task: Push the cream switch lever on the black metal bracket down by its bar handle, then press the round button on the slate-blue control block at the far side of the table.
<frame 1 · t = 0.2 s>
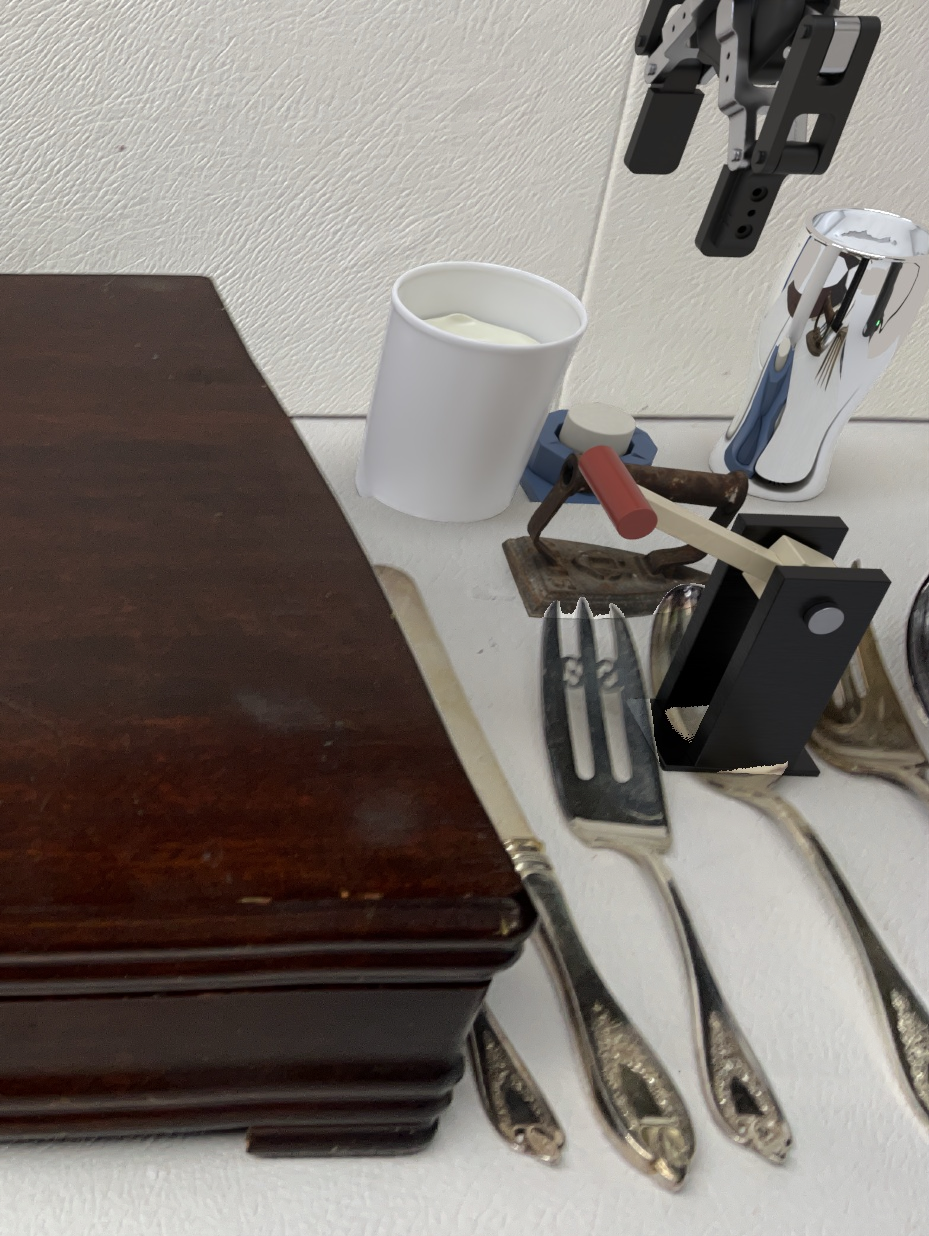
hand: (682, 210, 77), 23 cm above the table, tool pointing down, fingers open, 8 cm apart
button: (597, 431, 101), point 3 cm above the table, slide at 0.1 cm
candle holder: (428, 497, 101), on the table
clothes iron: (611, 602, 93), on the table
beer glass: (763, 477, 103), on the table
switch lever: (713, 539, 76), point 12 cm above the table, hinge at 25.0°
button block: (580, 475, 102), on the table
switch bracket: (712, 752, 84), on the table
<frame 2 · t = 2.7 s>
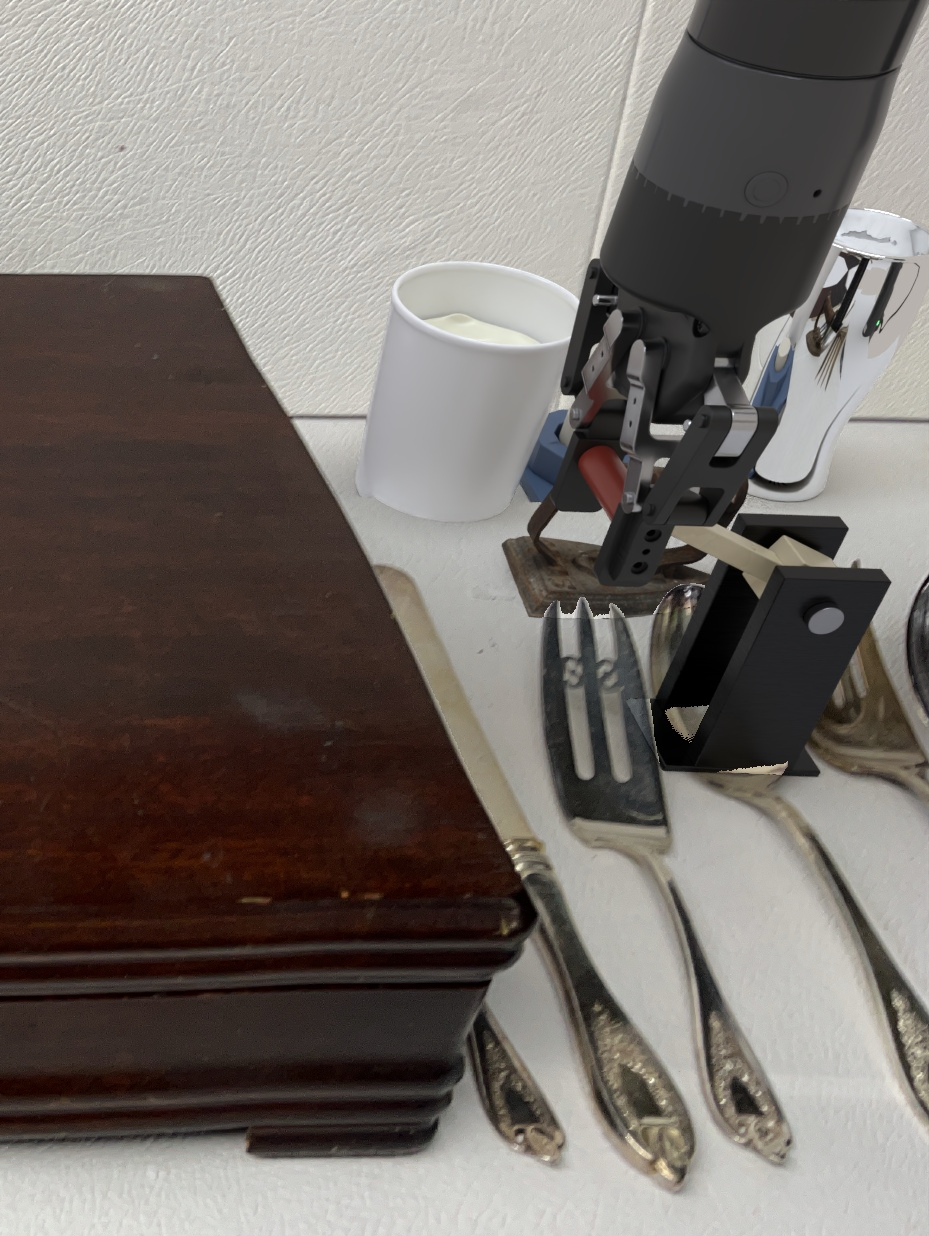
hand: (596, 541, 77), 12 cm above the table, tool pointing down, fingers closed on switch lever, 5 cm apart
switch lever: (713, 539, 76), point 12 cm above the table, hinge at 24.9°, touching gripper
everything else where it was.
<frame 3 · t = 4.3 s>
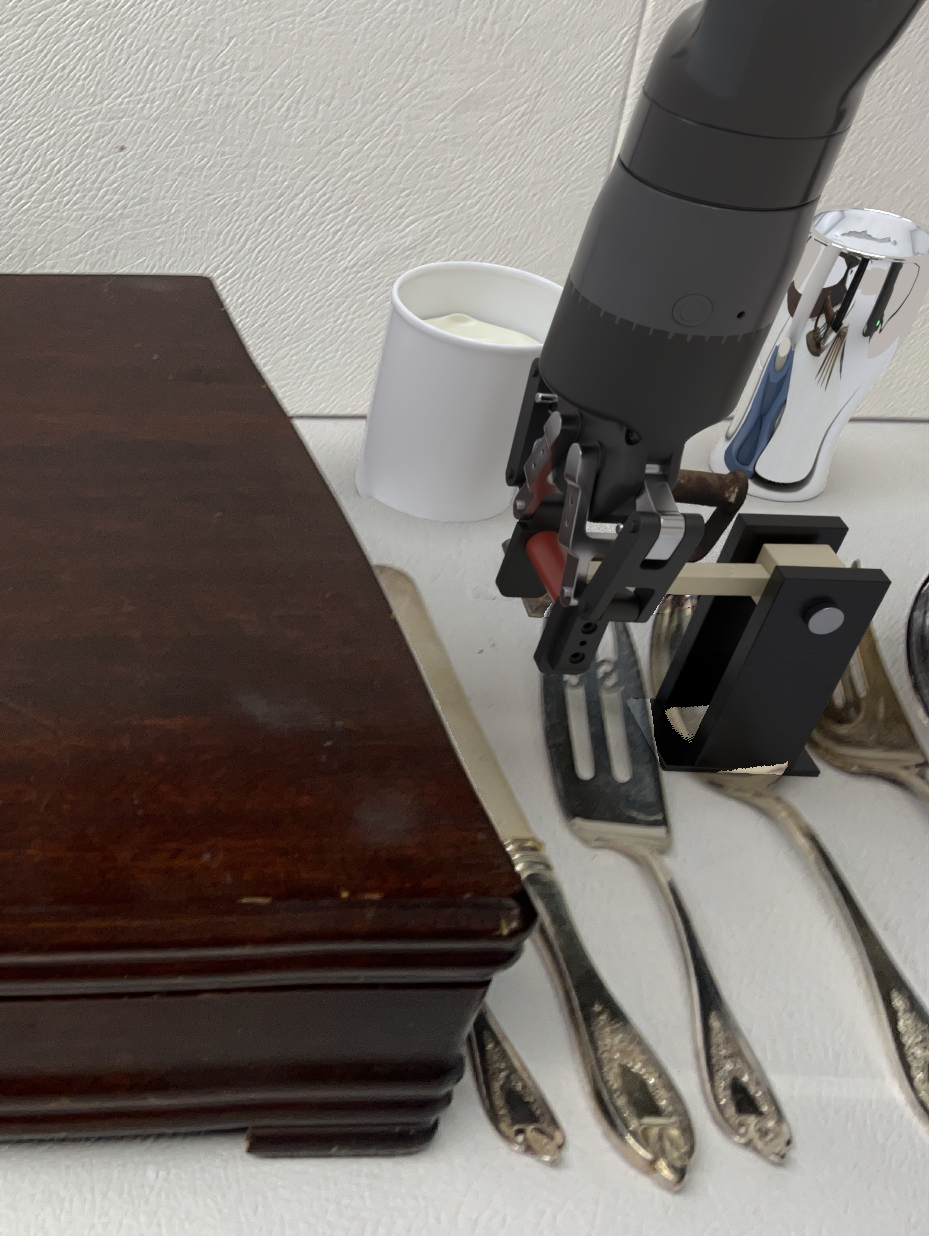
hand: (538, 628, 80), 7 cm above the table, tool pointing down, fingers closed on switch lever, 5 cm apart
switch lever: (685, 578, 78), point 10 cm above the table, hinge at -1.4°, touching gripper
everything else where it was.
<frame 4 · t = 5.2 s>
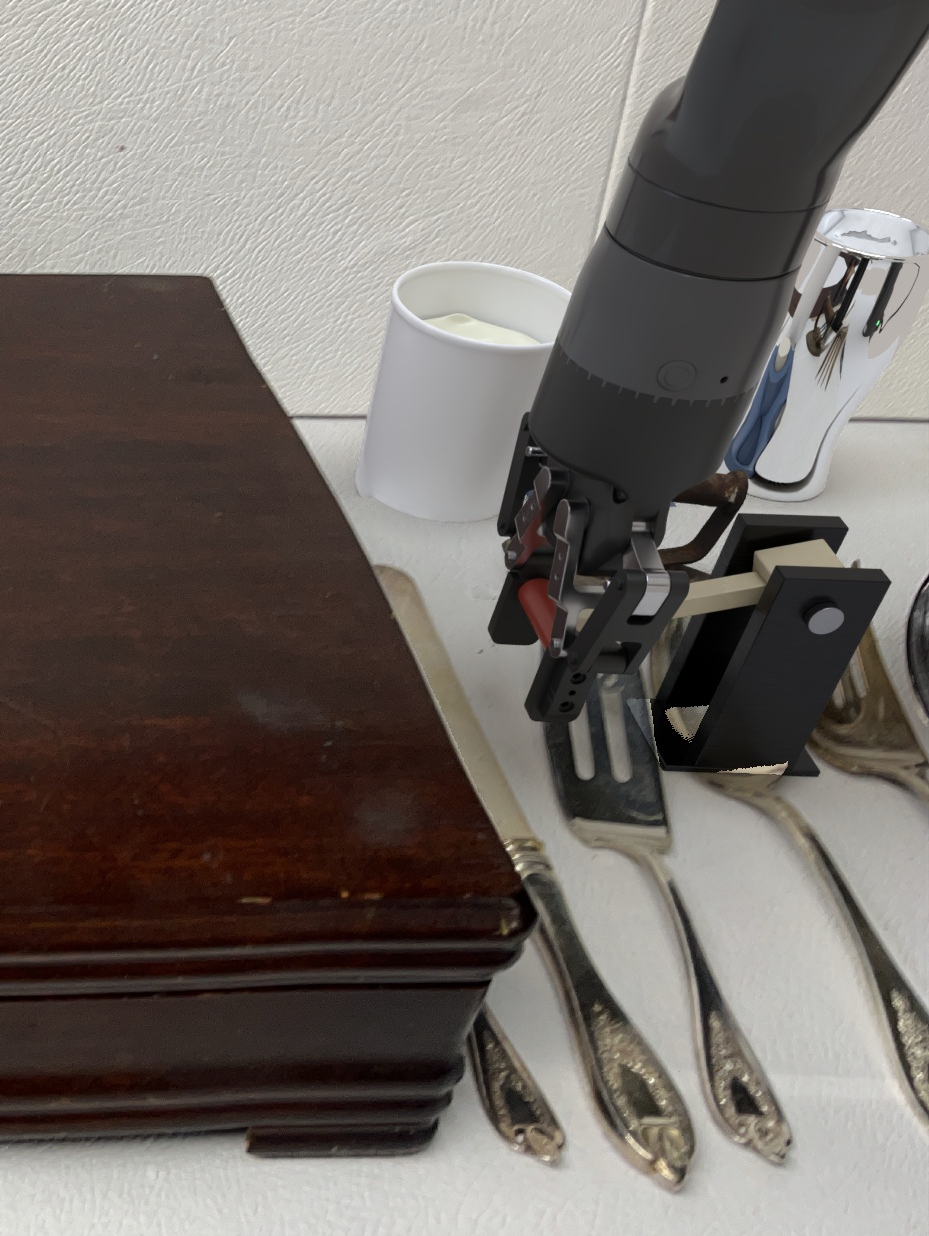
hand: (529, 676, 81), 4 cm above the table, tool pointing down, fingers closed on switch lever, 5 cm apart
switch lever: (680, 601, 78), point 9 cm above the table, hinge at -16.5°, touching gripper
everything else where it was.
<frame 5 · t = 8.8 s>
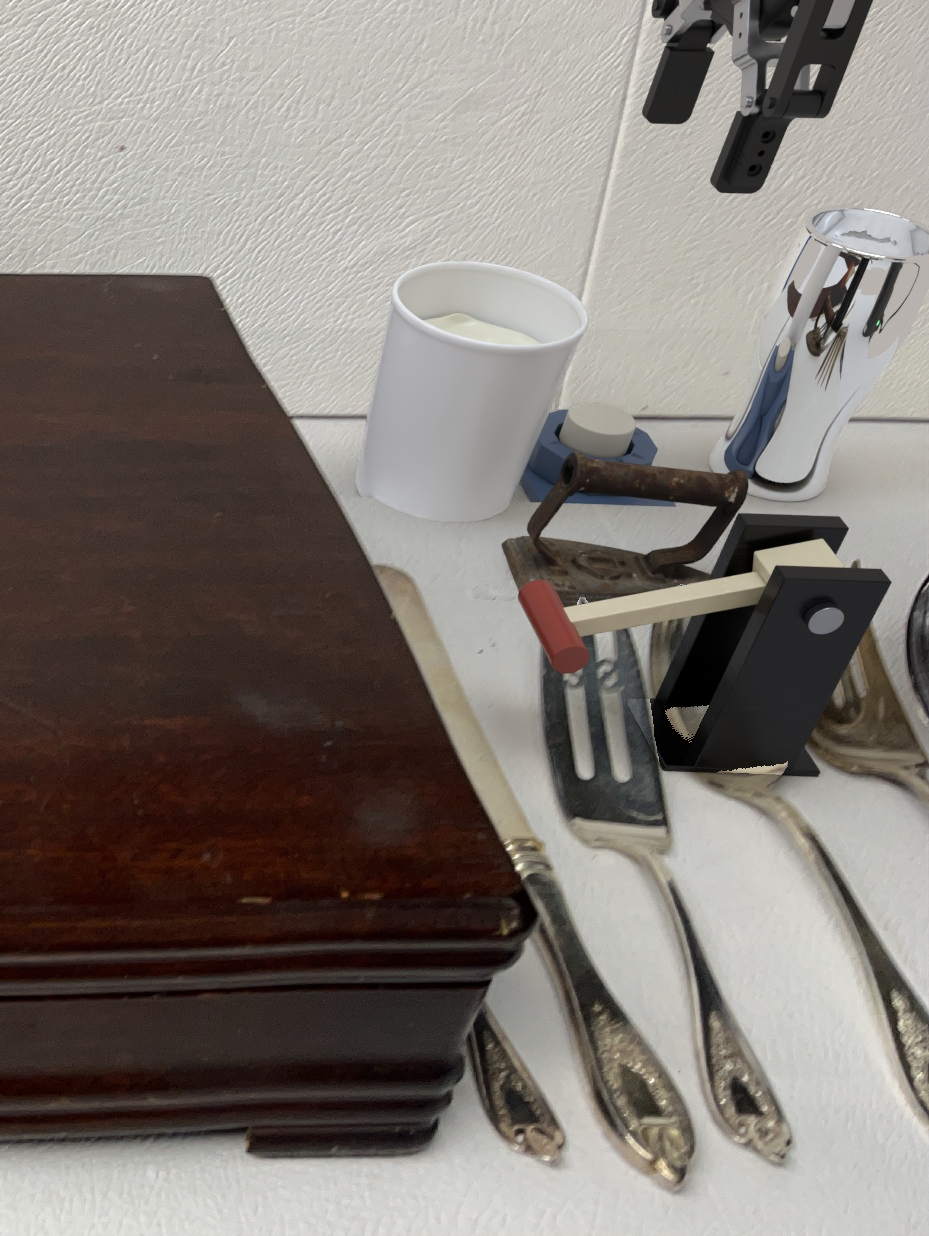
hand: (696, 154, 87), 20 cm above the table, tool pointing down, fingers open, 8 cm apart
switch lever: (680, 601, 78), point 9 cm above the table, hinge at -17.0°
everything else where it was.
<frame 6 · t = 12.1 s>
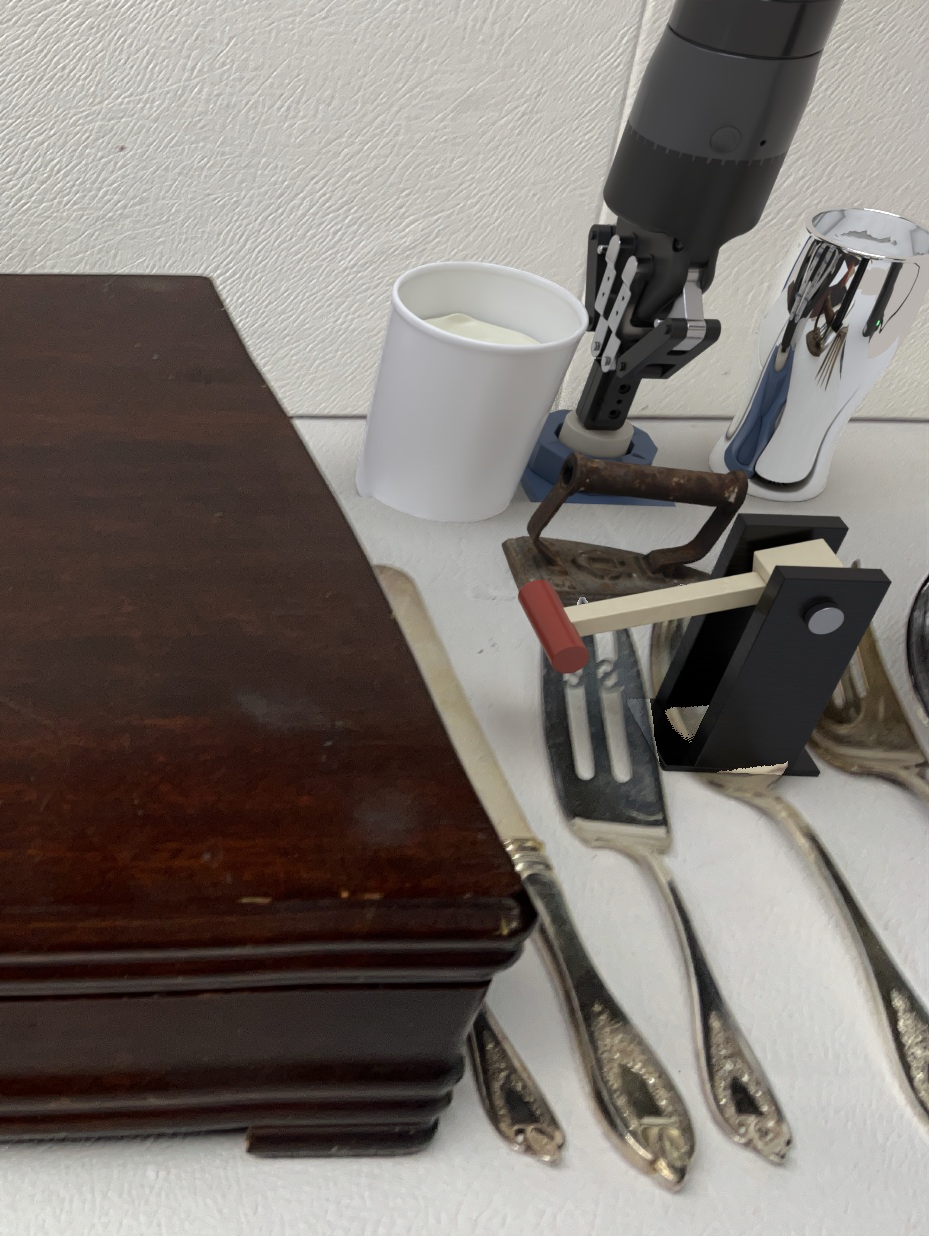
hand: (597, 423, 100), 4 cm above the table, tool pointing down, fingers closed
button: (595, 436, 101), point 3 cm above the table, slide at -0.3 cm, touching gripper
everything else where it was.
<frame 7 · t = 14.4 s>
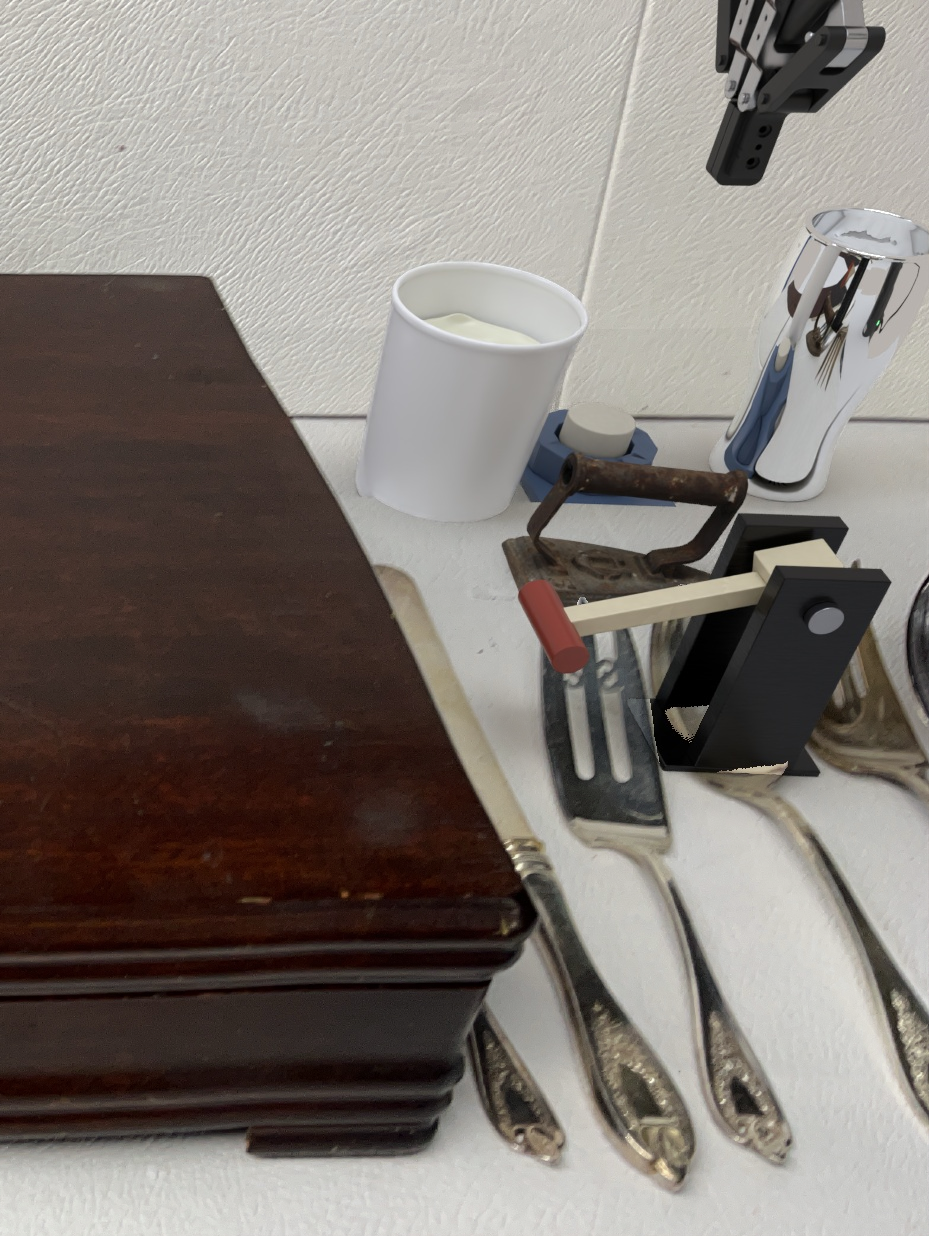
hand: (730, 179, 89), 19 cm above the table, tool pointing down, fingers closed
button: (597, 430, 101), point 3 cm above the table, slide at 0.1 cm
everything else where it was.
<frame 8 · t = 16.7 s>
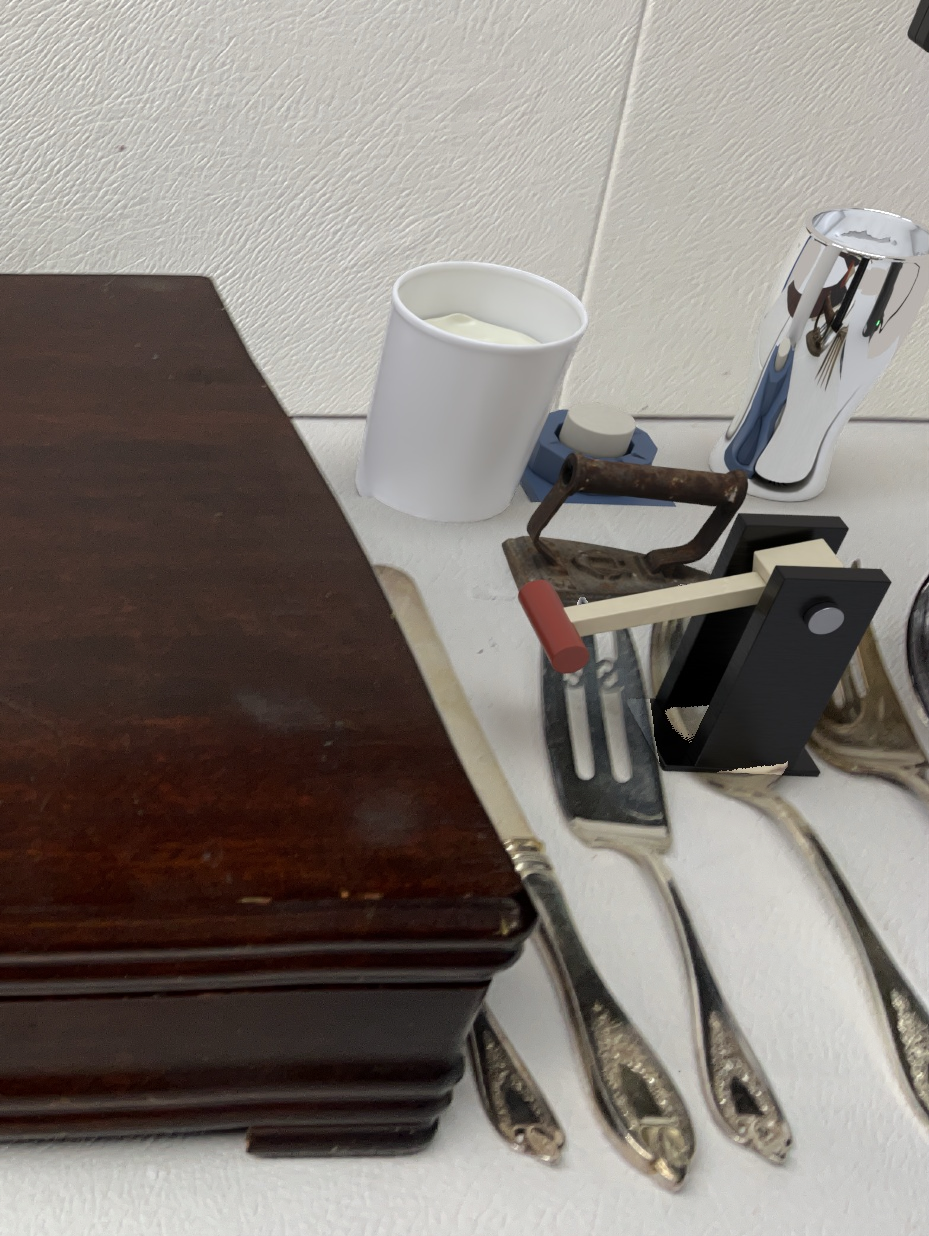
nothing on the table moved.
at the end: switch lever at -17° (first picture: +25°); button pushed in 1.1 cm at the most during the clip, back to where it started at the end; button slide at 0.1 cm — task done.
